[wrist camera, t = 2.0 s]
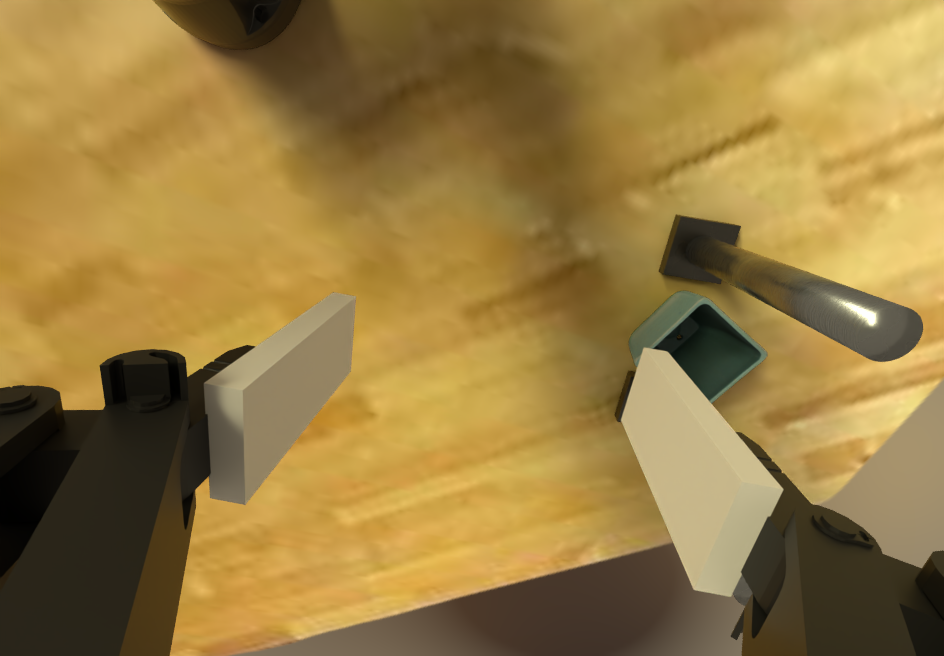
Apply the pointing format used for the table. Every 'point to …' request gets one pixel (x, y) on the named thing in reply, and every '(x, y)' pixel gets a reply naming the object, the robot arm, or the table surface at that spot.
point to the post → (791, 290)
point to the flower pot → (699, 342)
